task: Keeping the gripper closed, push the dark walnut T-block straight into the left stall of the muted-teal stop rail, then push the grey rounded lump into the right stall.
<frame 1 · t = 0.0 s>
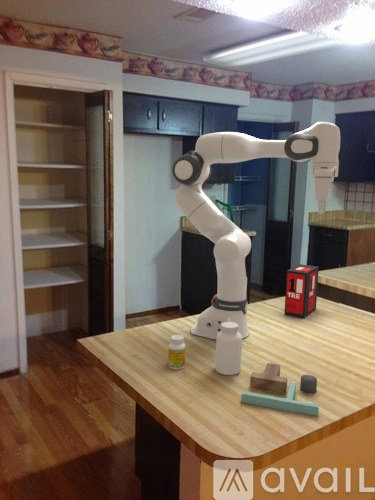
hand: (321, 212, 151), 48 cm above the table, fingers open, 8 cm apart
grey rounded lump: (308, 389, 126), on the table
cleaning product box: (300, 312, 197), on the table
pill bottle: (227, 370, 137), on the table
t block: (270, 382, 130), on the table
supplement bottle: (176, 366, 140), on the table
stop rail: (278, 407, 116), on the table
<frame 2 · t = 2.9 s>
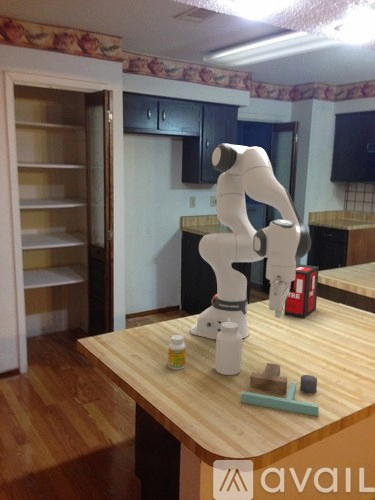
hand: (278, 316, 137), 17 cm above the table, fingers closed
nothing on the table moved.
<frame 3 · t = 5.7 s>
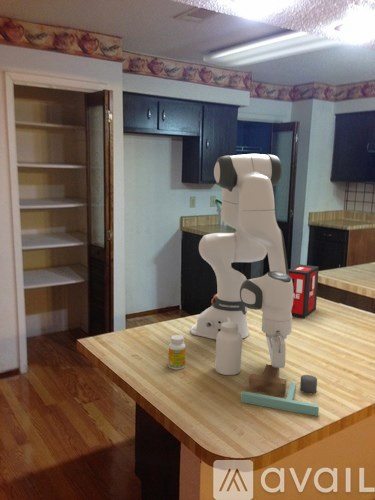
hand: (274, 369, 135), 2 cm above the table, fingers closed
t block: (269, 384, 129), on the table, touching gripper
everything else where it was.
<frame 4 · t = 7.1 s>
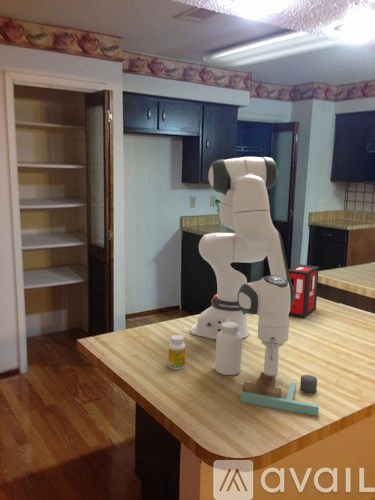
hand: (270, 377, 129), 2 cm above the table, fingers closed
t block: (264, 393, 123), on the table, touching gripper, stop rail
everything else where it was.
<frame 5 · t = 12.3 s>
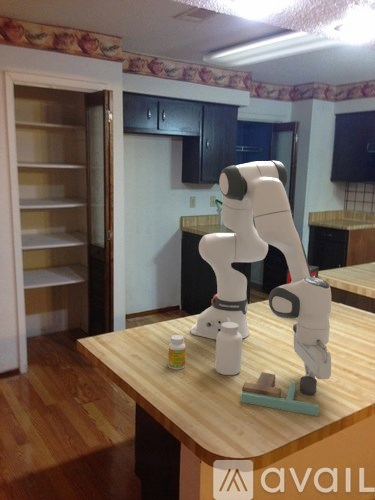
hand: (309, 379, 128), 2 cm above the table, fingers closed
grey rounded lump: (307, 391, 125), on the table, touching gripper
t block: (264, 393, 123), on the table
everything else where it was.
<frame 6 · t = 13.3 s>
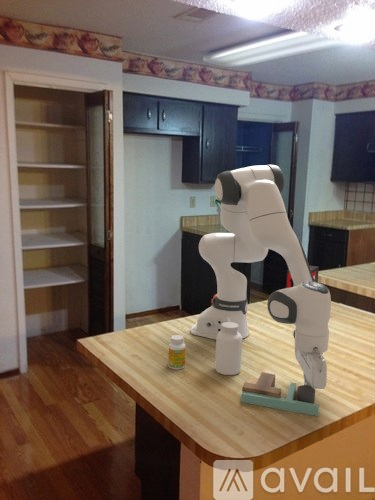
hand: (308, 388, 123), 2 cm above the table, fingers closed
grey rounded lump: (305, 400, 119), on the table, touching gripper
everything else where it was.
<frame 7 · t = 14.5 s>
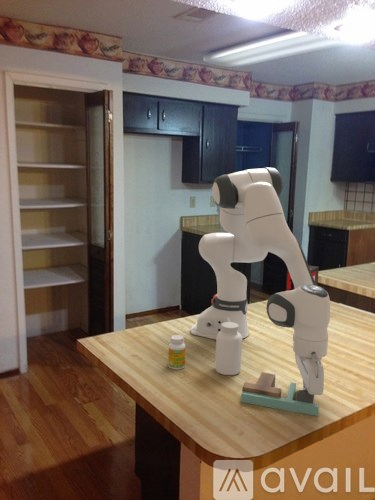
hand: (307, 393, 120), 2 cm above the table, fingers closed
grey rounded lump: (304, 406, 117), on the table, touching gripper
everything else where it was.
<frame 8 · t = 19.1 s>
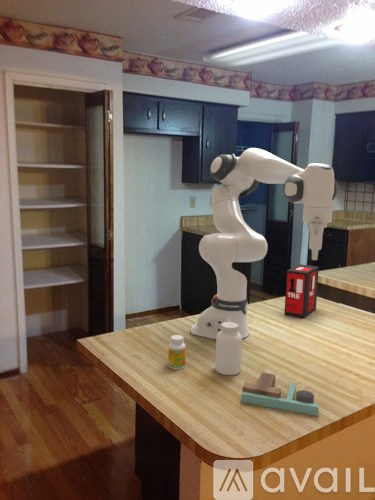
hand: (314, 259, 140), 34 cm above the table, fingers closed
grey rounded lump: (304, 406, 117), on the table
everything else where it was.
at the end: t block 0.7 cm from the target spot, on the table; grey rounded lump 0.7 cm from the target spot, on the table; t block touching table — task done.
